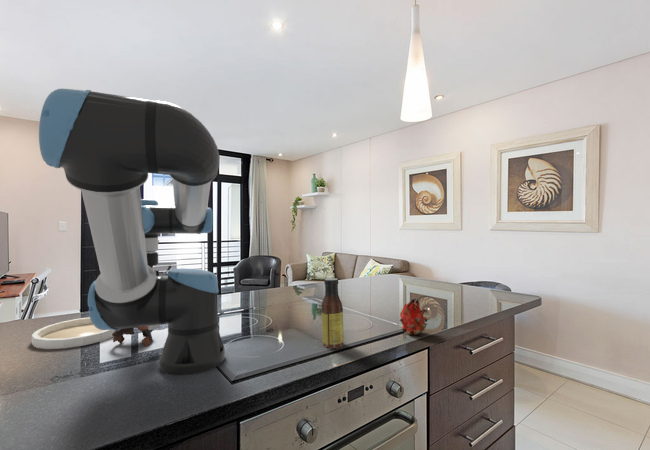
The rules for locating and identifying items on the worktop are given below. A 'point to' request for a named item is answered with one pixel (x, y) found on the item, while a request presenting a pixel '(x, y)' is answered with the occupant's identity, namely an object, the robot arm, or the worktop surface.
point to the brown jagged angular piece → (129, 331)
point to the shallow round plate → (69, 334)
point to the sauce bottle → (332, 315)
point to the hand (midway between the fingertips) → (143, 323)
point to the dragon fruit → (413, 318)
